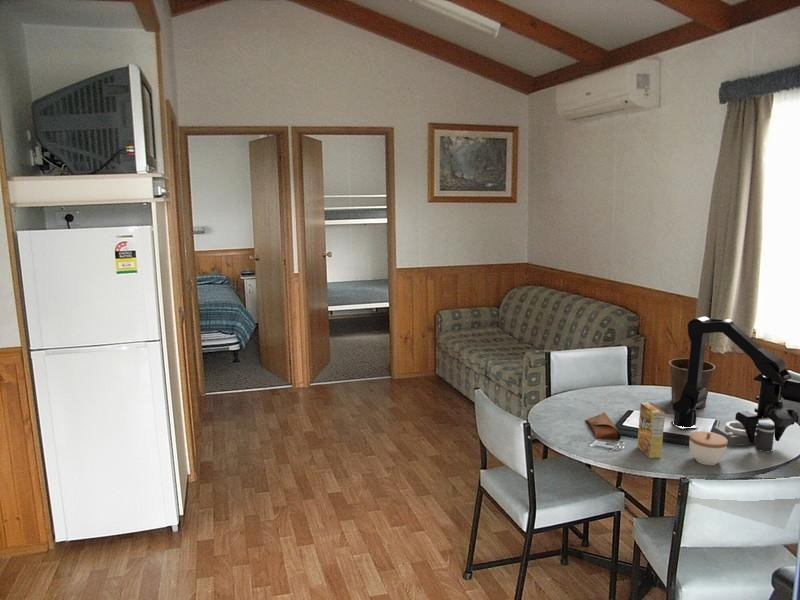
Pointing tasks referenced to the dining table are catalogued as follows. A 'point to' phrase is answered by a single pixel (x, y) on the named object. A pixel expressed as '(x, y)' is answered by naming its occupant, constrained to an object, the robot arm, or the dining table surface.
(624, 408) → the dining table surface
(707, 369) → the plant pot
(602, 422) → the sunglasses case
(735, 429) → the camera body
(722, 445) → the lidded jar
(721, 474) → the dining table surface
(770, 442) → the lens
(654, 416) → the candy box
